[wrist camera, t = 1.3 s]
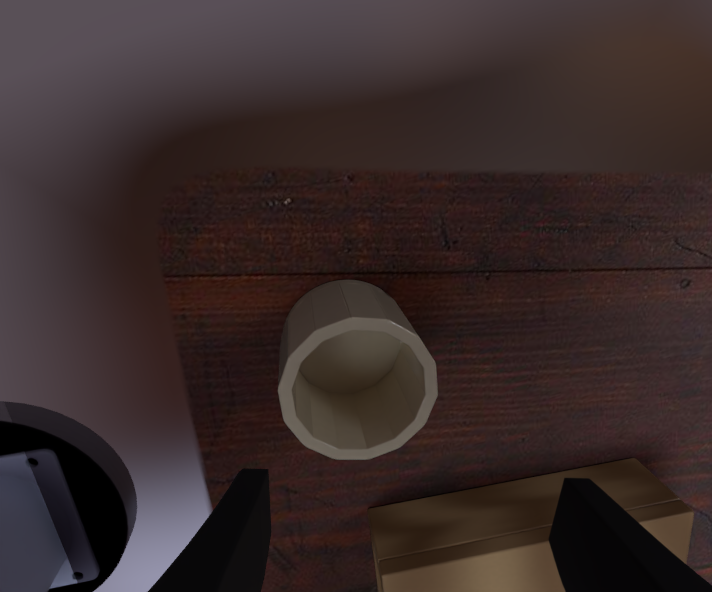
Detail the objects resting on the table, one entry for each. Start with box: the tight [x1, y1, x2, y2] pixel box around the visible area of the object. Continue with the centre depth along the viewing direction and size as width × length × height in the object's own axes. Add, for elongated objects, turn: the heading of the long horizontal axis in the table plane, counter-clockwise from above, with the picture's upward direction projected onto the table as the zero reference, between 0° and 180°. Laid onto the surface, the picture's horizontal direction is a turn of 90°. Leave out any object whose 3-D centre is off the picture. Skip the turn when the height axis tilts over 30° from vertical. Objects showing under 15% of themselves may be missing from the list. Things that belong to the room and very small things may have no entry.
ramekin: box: [278, 280, 438, 460], centre depth 18 cm, size 5×5×4 cm
